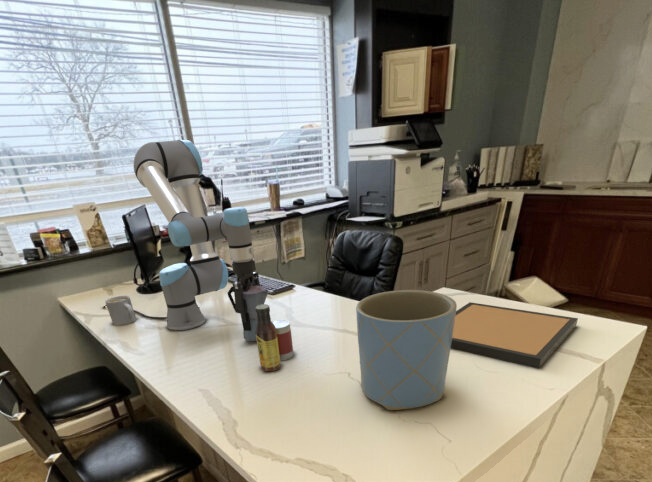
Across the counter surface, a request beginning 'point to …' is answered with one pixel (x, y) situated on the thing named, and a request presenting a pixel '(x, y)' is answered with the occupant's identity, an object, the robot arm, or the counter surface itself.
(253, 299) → the moka pot
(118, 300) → the coffee mug
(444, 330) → the planter
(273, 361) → the sauce bottle
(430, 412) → the counter surface
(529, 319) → the framed cork board
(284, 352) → the tin can
